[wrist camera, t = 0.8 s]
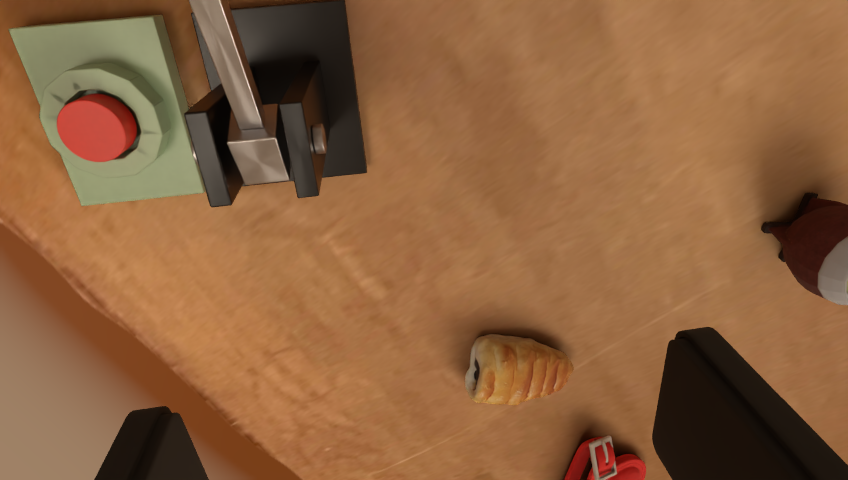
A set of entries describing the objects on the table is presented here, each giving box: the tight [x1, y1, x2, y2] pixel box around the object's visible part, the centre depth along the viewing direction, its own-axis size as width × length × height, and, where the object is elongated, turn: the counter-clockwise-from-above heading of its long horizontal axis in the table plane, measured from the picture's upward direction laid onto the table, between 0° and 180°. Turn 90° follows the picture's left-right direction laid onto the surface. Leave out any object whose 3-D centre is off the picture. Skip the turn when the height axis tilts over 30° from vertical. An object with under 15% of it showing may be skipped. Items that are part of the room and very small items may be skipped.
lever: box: [189, 0, 291, 185], centre depth 21 cm, size 13×6×2 cm, turn 5°
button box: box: [9, 15, 206, 206], centre depth 32 cm, size 11×8×4 cm
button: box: [57, 94, 137, 162], centre depth 30 cm, size 4×4×2 cm
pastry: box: [465, 334, 574, 405], centre depth 46 cm, size 9×7×4 cm
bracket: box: [184, 0, 367, 207], centre depth 29 cm, size 11×9×13 cm
